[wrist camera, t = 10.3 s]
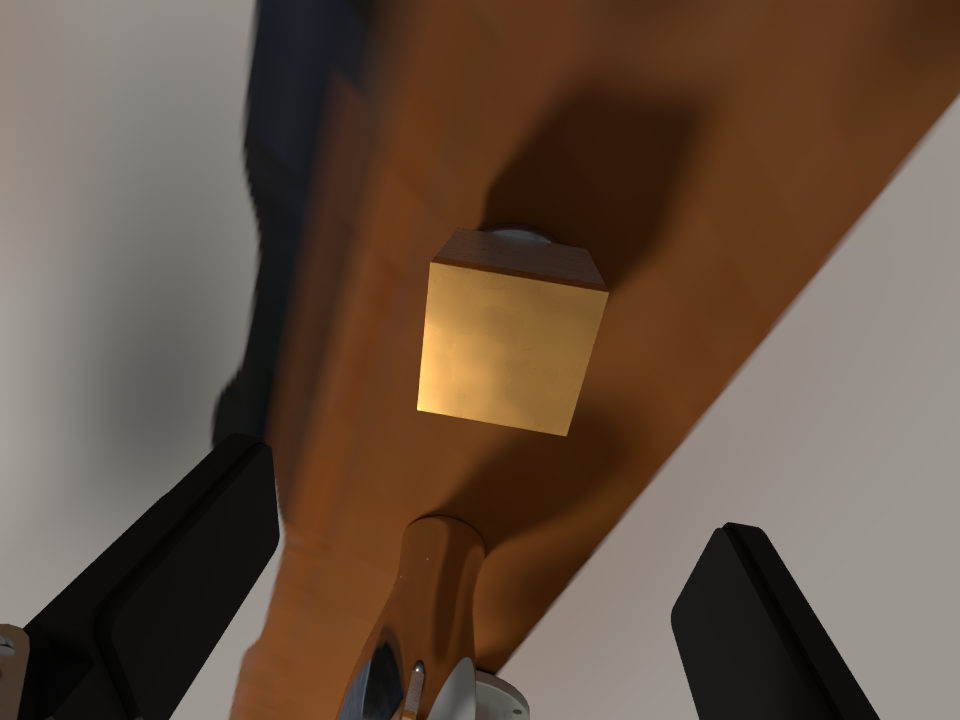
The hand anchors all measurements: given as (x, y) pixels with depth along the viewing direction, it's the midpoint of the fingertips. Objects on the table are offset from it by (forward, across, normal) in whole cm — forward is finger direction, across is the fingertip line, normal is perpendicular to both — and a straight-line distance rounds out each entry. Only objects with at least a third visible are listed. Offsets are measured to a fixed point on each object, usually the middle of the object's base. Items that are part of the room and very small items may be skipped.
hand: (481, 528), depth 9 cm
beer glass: (+16, +2, +19) cm, 25 cm away
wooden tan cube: (+13, 0, -1) cm, 13 cm away
